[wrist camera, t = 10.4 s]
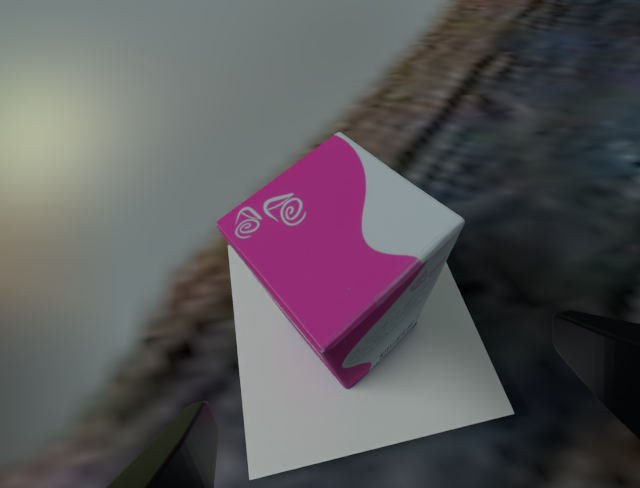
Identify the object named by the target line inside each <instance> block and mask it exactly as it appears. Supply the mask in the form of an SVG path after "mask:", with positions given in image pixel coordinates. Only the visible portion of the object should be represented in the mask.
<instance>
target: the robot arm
mask: <svg viewBox="0 0 640 488" xmlns="http://www.w3.org/2000/svg"><path fill="white" fill-rule="evenodd" d="M552 341H553V345H554V348H555V349H556V351H557V352H558V354H559V355H560V356H561V357H562V358H563V359H564V360H565V361H566V363H567V364H568V365H569V366H570V367H571V368H572V369H573V371H574V372H575V373H576V374H577V375H578V376H579V377H580V379H581V380H582V381H583V382H584V383H585V384H586V385H587V387H588V388H589V389H590V390H591V391H592V392H593V393H594V394H595V396H596V397H597V398H598V399H599V400H600V401H601V402H602V403H603V404H604V405H605V406H606V407H607V408H608V409H609V410H610V411H611V412H612V413H613V414H614V415H615V416H616V417H617V418H618V419H619V420H620V421H621V422H622V423H623V424H624V425H625V426H626V427H627V428H628V429H629V430H630V431H631V432H633V433H634V434H635V435H636V436H637V437H638V438H639V439H640V324H636V323H631V322H626V321H621V320H616V319H612V318H607V317H602V316H597V315H592V314H587V313H582V312H577V311H572V310H568V311H564V312H560V313H556V314H554V315H553V316H552ZM218 440H219V429H218V425H217V422H216V420H215V417H214V415H213V412H212V410H211V407H210V405H209V403H208V402H207V401H201V402H197V403H193V404H190V405H189V406H188V407H187V408H186V409H185V410H184V411H183V412H182V413H181V414H180V415H179V416H178V417H177V418H176V419H175V420H174V421H173V422H172V423H171V424H170V425H169V426H168V427H167V428H166V429H165V430H164V431H162V432H161V433H160V434H159V435H158V436H157V437H156V438H155V439H154V440H153V441H152V442H151V443H150V444H149V445H148V446H147V447H146V448H145V449H144V450H143V451H142V452H141V453H140V454H139V455H138V456H137V457H136V458H135V459H134V460H133V461H132V462H131V463H130V464H129V465H128V466H127V467H126V468H125V469H124V470H123V471H122V472H121V473H120V474H119V475H118V476H117V477H116V478H115V479H114V480H113V481H112V482H111V483H110V484H109V485H108V486H107V487H106V488H214V479H215V469H216V459H217V449H218Z"/></svg>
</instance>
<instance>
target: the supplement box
mask: <svg viewBox="0 0 640 488" xmlns="http://www.w3.org/2000/svg"><path fill="white" fill-rule="evenodd" d="M464 224H465V220H464V219H463V218H462V217H461V216H459V215H458V214H456V213H455V212H453V211H452V210H450V209H449V208H447V207H446V206H444V205H443V204H441V203H440V202H438V201H437V200H435V199H434V198H432V197H431V196H429V195H428V194H427V193H425V192H424V191H422V190H421V189H419V188H418V187H416V186H415V185H413V184H412V183H410V182H409V181H408V180H406V179H405V178H403V177H402V176H400V175H399V174H398V173H396V172H395V171H393V170H392V169H391V168H389V167H388V166H387V165H385V164H384V163H382V162H381V161H380V160H378V159H377V158H375V157H374V156H373V155H371V154H370V153H369V152H367V151H366V150H365V149H363V148H362V147H360V146H359V145H357V144H356V143H355V142H353V141H352V140H351V139H349V138H348V137H346V136H345V135H344V134H342V133H340V132H338V133H336V134H335V135H334V136H333V137H331V138H330V139H328V140H327V141H326V142H324V143H323V144H322V145H320V146H319V147H318V148H316V149H315V150H313V151H312V152H311V153H309V154H308V155H307V156H305V157H304V158H303V159H301V160H300V161H299V162H297V163H296V164H294V165H293V166H292V167H290V168H289V169H288V170H286V171H285V172H284V173H282V174H281V175H280V176H278V177H277V178H276V179H274V180H273V181H272V182H270V183H269V184H268V185H266V186H265V187H263V188H262V189H261V190H259V191H258V192H257V193H255V194H254V195H252V196H251V197H250V198H248V199H247V200H246V201H244V202H243V203H242V204H240V205H239V206H237V207H236V208H235V209H233V210H232V211H231V212H229V213H228V214H227V215H225V216H224V217H222V218H221V219H220V220H219V221H217V222H216V225H217V227H218V229H219V230H220V232H221V233H222V235H223V236H224V238H225V239H226V240H227V242H228V243H229V244H230V246H231V247H232V248H233V249H234V251H235V252H236V253H237V255H238V256H239V257H240V259H241V260H242V261H243V262H244V263H245V265H246V266H247V267H248V269H249V270H250V271H251V273H252V274H253V276H254V277H255V278H256V279H257V280H258V282H259V283H260V284H261V286H262V287H263V288H264V289H265V291H266V292H267V293H268V295H269V296H270V297H271V298H272V300H273V301H274V302H275V304H276V305H277V306H278V307H279V309H280V310H281V311H282V313H283V314H284V315H285V317H286V318H287V319H288V320H289V322H290V323H291V324H292V325H293V327H294V328H295V329H296V330H297V332H298V333H299V334H300V335H301V337H302V338H303V339H304V340H305V342H306V343H307V344H308V345H309V347H310V348H311V349H312V350H313V351H314V353H315V354H316V355H317V356H318V357H319V359H320V360H321V361H322V362H323V363H324V365H325V366H326V367H327V368H328V370H329V371H330V372H331V373H332V374H333V376H334V377H335V378H336V379H337V380H338V381H339V382H340V384H341V385H342V386H343V387H344V388H345V389H350V388H351V387H353V386H354V385H355V384H356V383H357V382H358V381H360V380H361V379H362V378H363V377H364V376H365V375H366V374H367V373H368V372H369V371H370V370H371V369H372V368H373V367H374V366H375V365H376V364H377V363H378V362H379V361H380V360H381V359H382V358H383V357H384V356H385V355H386V354H387V353H389V352H390V351H391V350H392V349H393V348H394V347H395V346H396V345H397V344H398V343H399V342H400V341H401V340H402V339H403V338H404V337H405V336H406V334H407V333H408V332H409V331H410V330H411V329H412V328H413V327H414V326H415V325H416V324H417V320H418V318H419V316H420V314H421V311H422V309H423V307H424V305H425V303H426V301H427V299H428V297H429V295H430V293H431V291H432V289H433V287H434V285H435V283H436V281H437V279H438V277H439V275H440V273H441V271H442V269H443V267H444V264H445V262H446V260H447V258H448V256H449V254H450V252H451V250H452V248H453V246H454V244H455V242H456V240H457V238H458V236H459V234H460V232H461V230H462V228H463V226H464Z"/></svg>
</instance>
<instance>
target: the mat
mask: <svg viewBox="0 0 640 488" xmlns="http://www.w3.org/2000/svg"><path fill="white" fill-rule="evenodd" d="M228 253H229V264H230V274H231V285H232V296H233V307H234V318H235V328H236V339H237V350H238V361H239V372H240V382H241V393H242V404H243V415H244V426H245V436H246V447H247V458H248V469H249V480H252V479H256V478H260V477H264V476H268V475H272V474H276V473H280V472H284V471H288V470H292V469H296V468H300V467H304V466H308V465H312V464H316V463H320V462H324V461H328V460H332V459H336V458H340V457H344V456H348V455H352V454H356V453H360V452H364V451H368V450H372V449H376V448H380V447H384V446H388V445H392V444H396V443H400V442H404V441H408V440H412V439H416V438H420V437H424V436H428V435H432V434H436V433H440V432H444V431H448V430H452V429H456V428H460V427H464V426H468V425H472V424H476V423H480V422H484V421H488V420H492V419H496V418H500V417H504V416H508V415H512V414H515V413H514V411H513V409H512V407H511V405H510V402H509V400H508V398H507V396H506V393H505V391H504V389H503V387H502V385H501V382H500V380H499V378H498V376H497V373H496V371H495V369H494V367H493V365H492V362H491V360H490V358H489V356H488V354H487V351H486V349H485V347H484V345H483V342H482V340H481V338H480V336H479V334H478V331H477V329H476V327H475V325H474V322H473V320H472V318H471V316H470V314H469V311H468V309H467V307H466V305H465V303H464V300H463V298H462V296H461V294H460V291H459V289H458V287H457V285H456V283H455V280H454V278H453V276H452V274H451V271H450V269H449V267H448V265H447V263H446V262H445V264H444V267H443V269H442V271H441V273H440V275H439V277H438V279H437V281H436V283H435V285H434V287H433V289H432V291H431V293H430V295H429V297H428V299H427V301H426V303H425V305H424V307H423V309H422V311H421V314H420V316H419V318H418V320H417V324H416V325H415V326H414V327H413V328H412V329H411V330H410V331H409V332H408V333H407V334H406V336H405V337H404V338H403V339H402V340H401V341H400V342H399V343H398V344H397V345H396V346H395V347H394V348H393V349H392V350H391V351H390V352H389V353H387V354H386V355H385V356H384V357H383V358H382V359H381V360H380V361H379V362H378V363H377V364H376V365H375V366H374V367H373V368H372V369H371V370H370V371H369V372H368V373H367V374H366V375H365V376H364V377H363V378H362V379H361V380H360V381H358V382H357V383H356V384H355V385H354V386H353V387H351V388H350V389H345V388H344V387H343V386H342V385H341V384H340V382H339V381H338V380H337V379H336V378H335V377H334V376H333V374H332V373H331V372H330V371H329V370H328V368H327V367H326V366H325V365H324V363H323V362H322V361H321V360H320V359H319V357H318V356H317V355H316V354H315V353H314V351H313V350H312V349H311V348H310V347H309V345H308V344H307V343H306V342H305V340H304V339H303V338H302V337H301V335H300V334H299V333H298V332H297V330H296V329H295V328H294V327H293V325H292V324H291V323H290V322H289V320H288V319H287V318H286V317H285V315H284V314H283V313H282V311H281V310H280V309H279V307H278V306H277V305H276V304H275V302H274V301H273V300H272V298H271V297H270V296H269V295H268V293H267V292H266V291H265V289H264V288H263V287H262V286H261V284H260V283H259V282H258V280H257V279H256V278H255V277H254V276H253V274H252V273H251V271H250V270H249V269H248V267H247V266H246V265H245V263H244V262H243V261H242V260H241V259H240V257H239V256H238V255H237V253H236V252H235V251H234V249H233V248H232V247H231V246H230V245H228Z"/></svg>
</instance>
